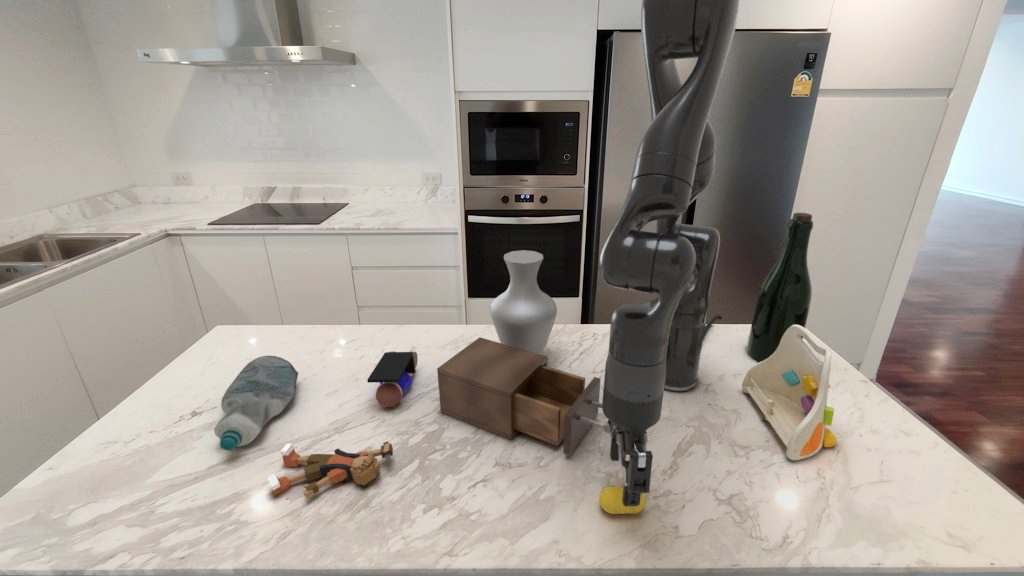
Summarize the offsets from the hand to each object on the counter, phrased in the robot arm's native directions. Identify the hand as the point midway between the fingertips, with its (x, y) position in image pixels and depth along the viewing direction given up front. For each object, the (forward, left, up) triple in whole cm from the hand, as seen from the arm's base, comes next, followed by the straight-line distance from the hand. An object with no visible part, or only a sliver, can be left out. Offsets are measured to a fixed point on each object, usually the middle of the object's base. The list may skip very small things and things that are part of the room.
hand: (623, 480), depth 68 cm
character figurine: (+17, -42, -6) cm, 46 cm away
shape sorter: (-34, +20, -6) cm, 40 cm away
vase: (-29, -33, -6) cm, 44 cm away
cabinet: (-12, -29, -6) cm, 32 cm away
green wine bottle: (-59, +15, -6) cm, 61 cm away
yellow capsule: (0, 0, -6) cm, 6 cm away
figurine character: (-6, -50, -6) cm, 51 cm away
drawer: (-12, -15, -5) cm, 20 cm away
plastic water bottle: (+14, -67, -6) cm, 69 cm away
